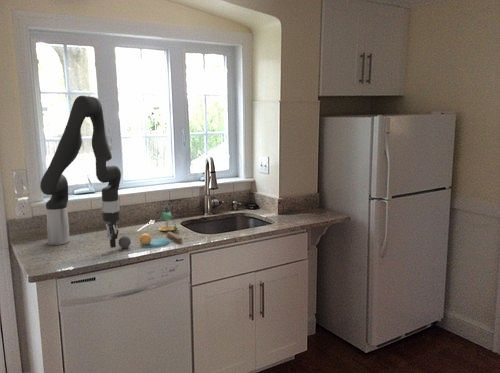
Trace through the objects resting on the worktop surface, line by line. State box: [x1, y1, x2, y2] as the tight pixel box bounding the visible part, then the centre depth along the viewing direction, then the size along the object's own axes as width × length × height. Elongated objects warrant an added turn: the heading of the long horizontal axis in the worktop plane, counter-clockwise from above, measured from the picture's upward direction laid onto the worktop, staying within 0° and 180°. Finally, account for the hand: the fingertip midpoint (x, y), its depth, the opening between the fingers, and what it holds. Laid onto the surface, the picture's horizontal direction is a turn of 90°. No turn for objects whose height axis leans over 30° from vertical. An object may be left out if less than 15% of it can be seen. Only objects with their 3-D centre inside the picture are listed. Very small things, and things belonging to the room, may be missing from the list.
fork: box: [136, 219, 155, 232], centre depth 243 cm, size 3×20×2 cm, turn 169°
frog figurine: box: [158, 204, 180, 234], centre depth 235 cm, size 10×18×15 cm, turn 31°
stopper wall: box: [166, 231, 183, 245], centre depth 217 cm, size 2×14×2 cm, turn 32°
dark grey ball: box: [118, 235, 132, 249], centre depth 205 cm, size 6×6×6 cm
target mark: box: [139, 238, 171, 249], centre depth 212 cm, size 14×14×1 cm
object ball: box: [139, 232, 152, 245], centre depth 209 cm, size 6×6×6 cm
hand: (113, 247), depth 202 cm, fingers closed
